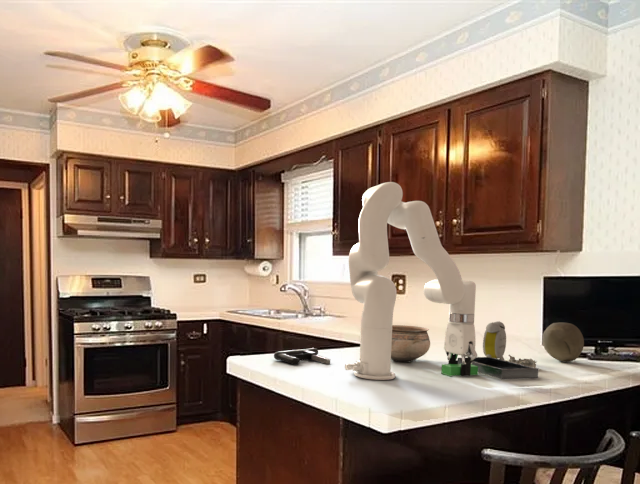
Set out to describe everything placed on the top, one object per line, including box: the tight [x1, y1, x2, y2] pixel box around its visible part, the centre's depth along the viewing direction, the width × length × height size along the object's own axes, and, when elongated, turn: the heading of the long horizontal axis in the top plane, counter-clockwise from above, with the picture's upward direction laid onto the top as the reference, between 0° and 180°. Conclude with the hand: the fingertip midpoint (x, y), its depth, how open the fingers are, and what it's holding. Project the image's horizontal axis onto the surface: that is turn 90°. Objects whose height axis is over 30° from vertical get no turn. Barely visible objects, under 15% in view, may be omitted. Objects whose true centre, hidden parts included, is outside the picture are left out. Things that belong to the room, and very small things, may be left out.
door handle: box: [273, 347, 331, 366], centre depth 193 cm, size 3×20×16 cm
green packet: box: [440, 363, 479, 378], centre depth 174 cm, size 10×5×3 cm, turn 105°
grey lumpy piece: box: [508, 354, 537, 368], centre depth 189 cm, size 11×8×4 cm
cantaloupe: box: [542, 322, 585, 363], centre depth 206 cm, size 14×14×15 cm
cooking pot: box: [391, 324, 431, 363], centre depth 199 cm, size 25×19×12 cm
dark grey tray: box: [457, 356, 539, 380], centre depth 179 cm, size 14×22×4 cm, turn 14°
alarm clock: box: [482, 320, 507, 360], centre depth 201 cm, size 12×7×15 cm, turn 139°
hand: (458, 373), depth 174 cm, fingers open, 5 cm apart
